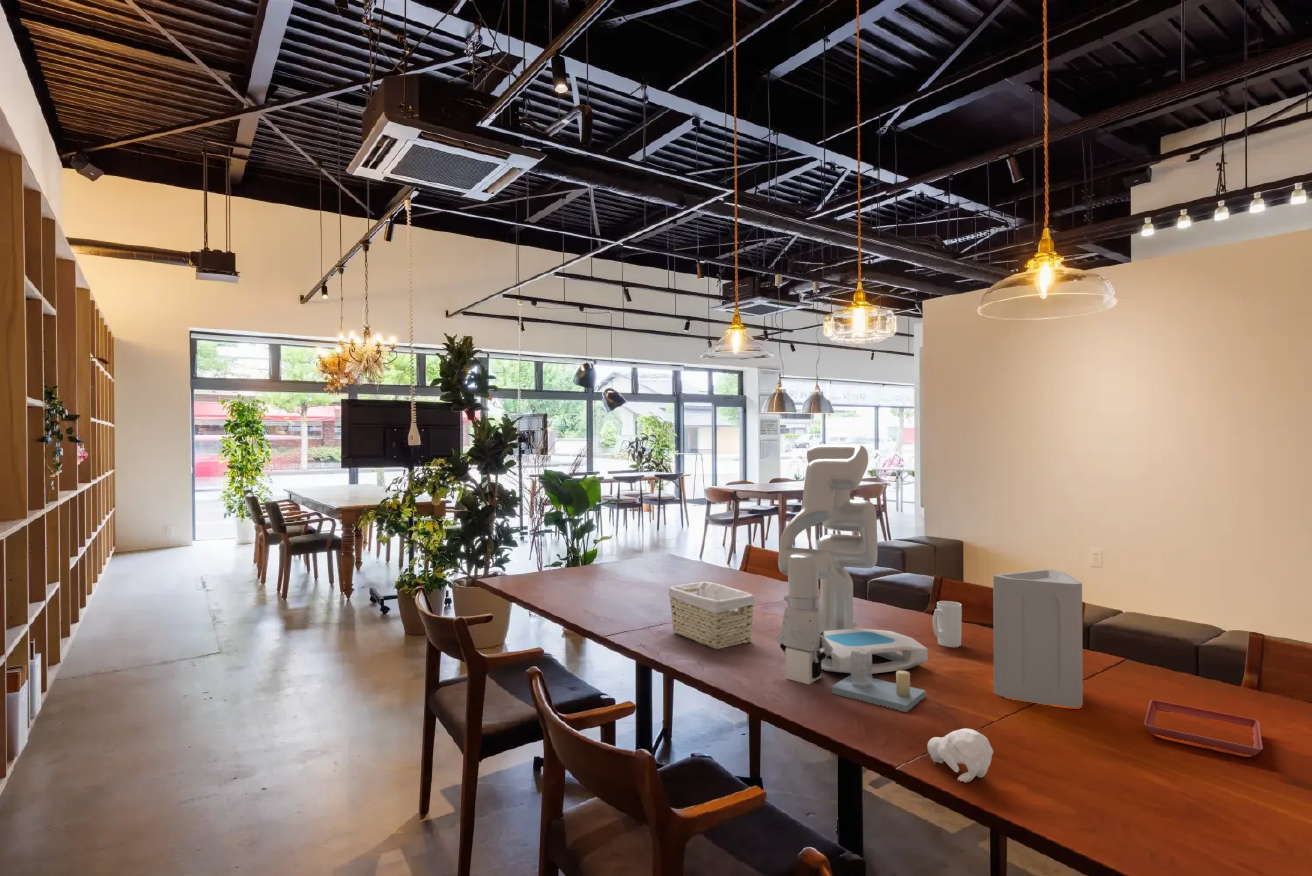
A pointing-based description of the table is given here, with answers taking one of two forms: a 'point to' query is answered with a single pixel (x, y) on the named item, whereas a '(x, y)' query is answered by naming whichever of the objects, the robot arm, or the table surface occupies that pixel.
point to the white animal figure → (962, 752)
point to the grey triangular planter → (1038, 637)
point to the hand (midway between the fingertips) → (803, 673)
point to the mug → (948, 623)
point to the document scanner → (872, 649)
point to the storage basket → (712, 614)
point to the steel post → (861, 668)
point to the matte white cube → (799, 665)
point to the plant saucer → (1206, 714)
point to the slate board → (883, 692)
